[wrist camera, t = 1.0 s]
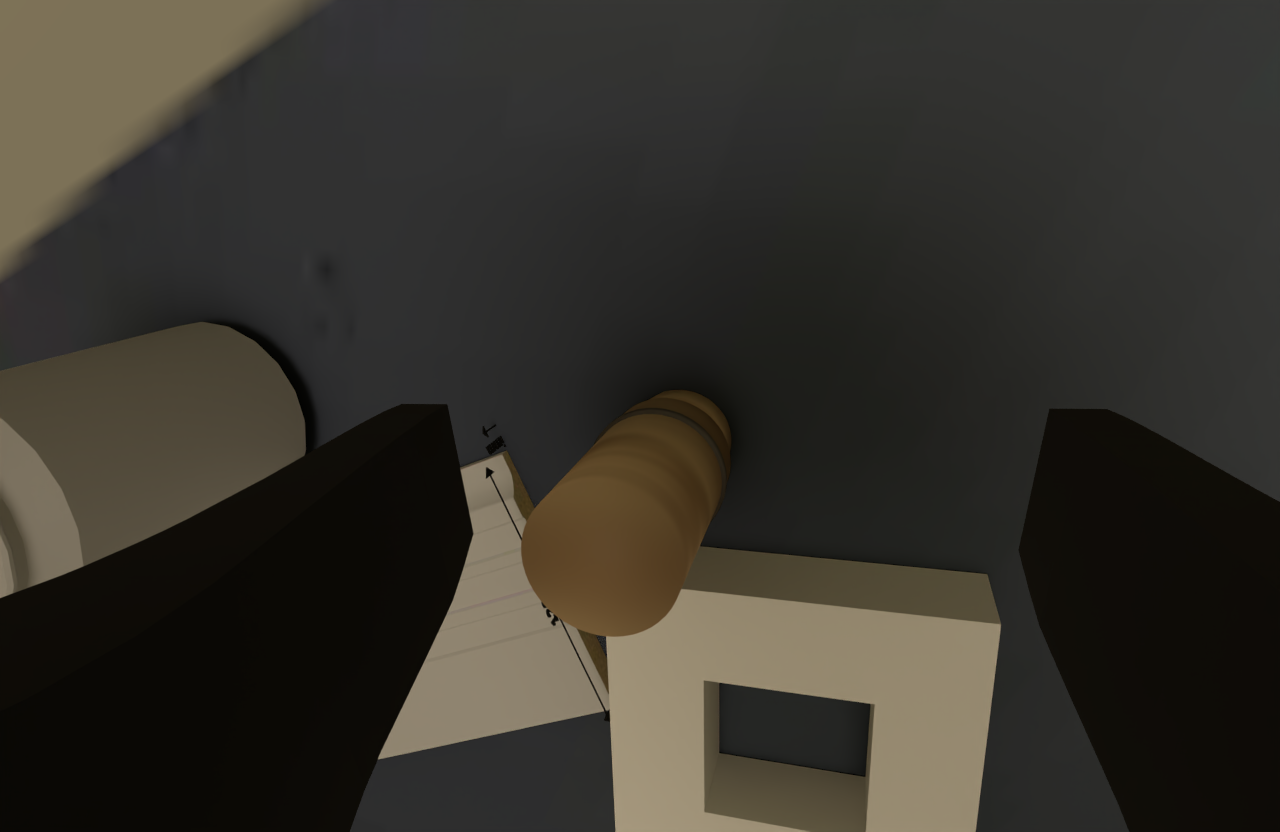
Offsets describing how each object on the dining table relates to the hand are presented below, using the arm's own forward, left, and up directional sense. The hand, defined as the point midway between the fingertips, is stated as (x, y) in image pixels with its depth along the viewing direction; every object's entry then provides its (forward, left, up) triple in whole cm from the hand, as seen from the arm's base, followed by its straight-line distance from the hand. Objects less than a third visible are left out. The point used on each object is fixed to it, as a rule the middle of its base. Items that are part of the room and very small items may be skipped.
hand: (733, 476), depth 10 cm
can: (-5, +22, -16) cm, 28 cm away
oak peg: (-5, +4, -16) cm, 17 cm away
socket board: (-15, 0, -16) cm, 22 cm away
